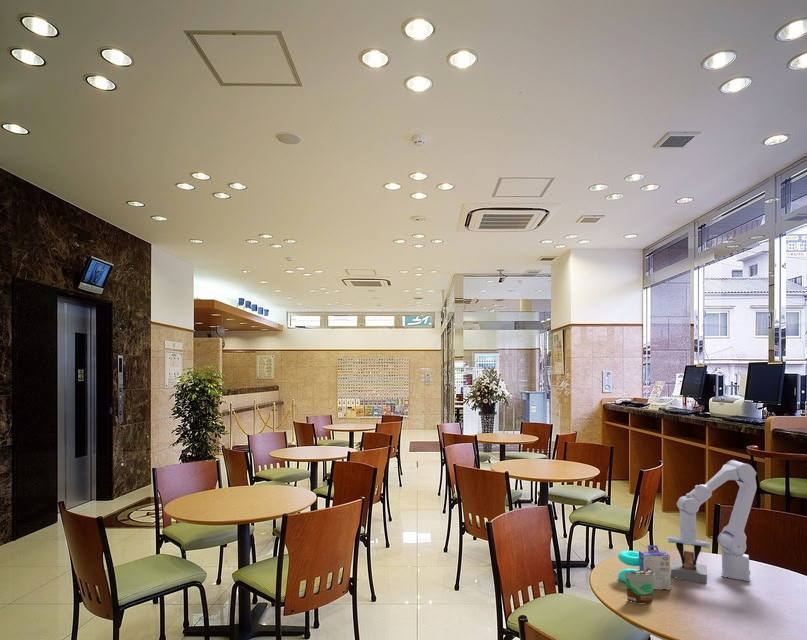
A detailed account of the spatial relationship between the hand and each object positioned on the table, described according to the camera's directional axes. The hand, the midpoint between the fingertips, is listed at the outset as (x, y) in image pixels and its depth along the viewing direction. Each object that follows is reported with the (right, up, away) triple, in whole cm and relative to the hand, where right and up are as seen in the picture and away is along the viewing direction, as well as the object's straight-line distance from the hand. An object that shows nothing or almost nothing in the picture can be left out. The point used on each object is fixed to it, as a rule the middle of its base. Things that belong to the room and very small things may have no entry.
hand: (689, 564), depth 222 cm
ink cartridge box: (-19, -3, -13) cm, 23 cm away
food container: (-28, -2, -26) cm, 39 cm away
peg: (0, -3, 0) cm, 3 cm away
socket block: (0, -4, 0) cm, 4 cm away
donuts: (-25, -4, -7) cm, 26 cm away
